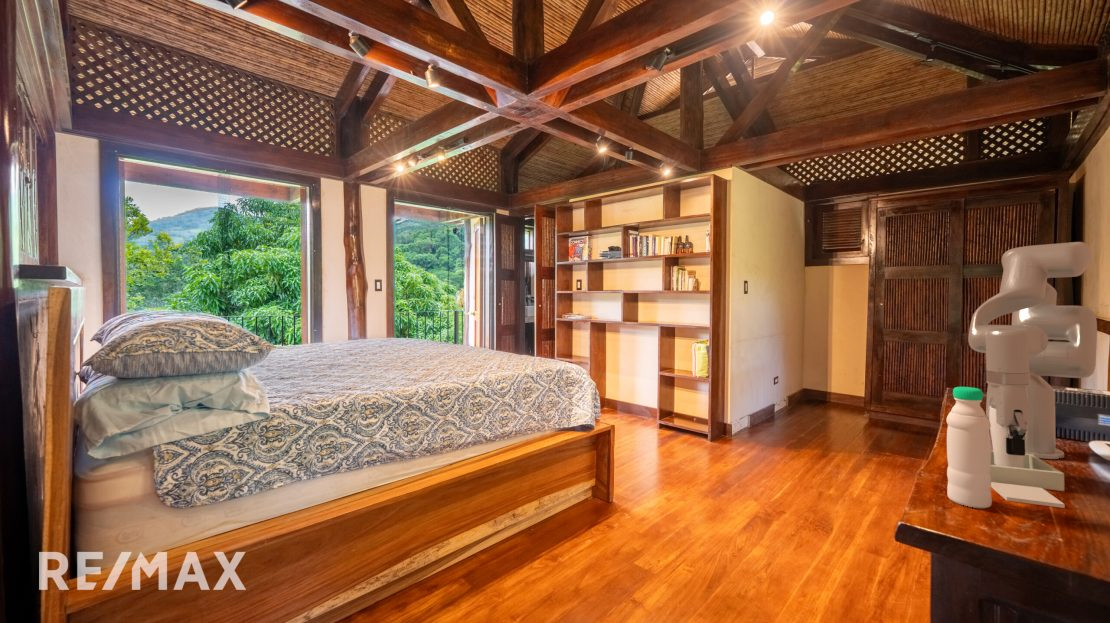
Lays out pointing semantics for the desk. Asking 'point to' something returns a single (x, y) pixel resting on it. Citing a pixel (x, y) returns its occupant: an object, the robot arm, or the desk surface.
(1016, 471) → the beige square frame
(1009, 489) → the ceramic tile
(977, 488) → the water bottle
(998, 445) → the drinking glass
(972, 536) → the desk surface
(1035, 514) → the desk surface
